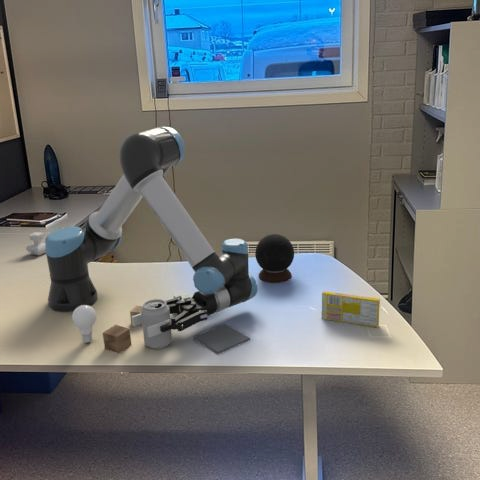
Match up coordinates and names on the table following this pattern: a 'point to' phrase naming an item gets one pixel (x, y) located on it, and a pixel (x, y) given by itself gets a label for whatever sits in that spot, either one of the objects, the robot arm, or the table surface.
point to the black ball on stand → (274, 258)
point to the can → (155, 322)
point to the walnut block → (117, 338)
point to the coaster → (221, 338)
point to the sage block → (183, 295)
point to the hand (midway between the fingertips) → (140, 326)
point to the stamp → (36, 244)
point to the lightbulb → (85, 321)
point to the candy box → (350, 309)
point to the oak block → (135, 312)
